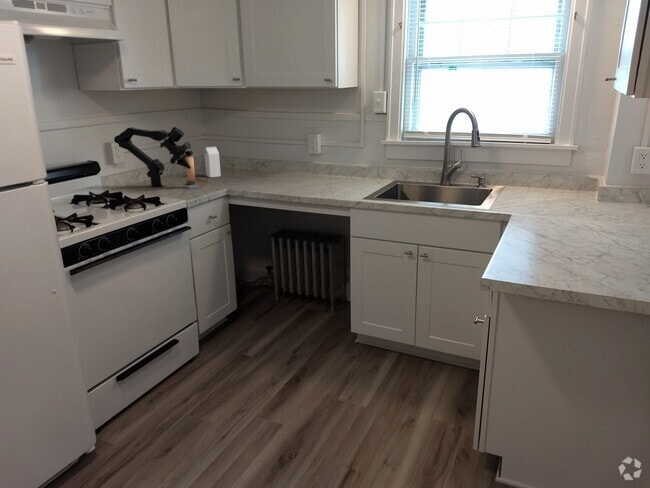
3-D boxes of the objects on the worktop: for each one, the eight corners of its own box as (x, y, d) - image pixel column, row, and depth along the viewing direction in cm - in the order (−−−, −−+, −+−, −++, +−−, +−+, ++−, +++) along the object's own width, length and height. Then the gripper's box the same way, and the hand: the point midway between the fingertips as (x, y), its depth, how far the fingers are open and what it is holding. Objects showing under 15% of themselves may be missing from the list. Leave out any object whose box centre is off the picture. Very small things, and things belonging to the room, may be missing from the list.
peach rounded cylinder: (187, 179, 289) (185, 156, 285) (195, 178, 290) (193, 156, 286) (187, 180, 285) (185, 157, 281) (195, 180, 286) (193, 157, 282)
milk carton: (220, 176, 323) (218, 147, 318) (210, 177, 319) (207, 147, 314) (216, 175, 329) (214, 146, 323) (206, 176, 325) (203, 146, 319)
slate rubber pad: (183, 187, 289) (183, 186, 289) (194, 185, 294) (194, 184, 293) (190, 189, 284) (189, 187, 284) (200, 187, 289) (200, 186, 289)
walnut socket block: (187, 183, 300) (186, 179, 299) (200, 181, 306) (199, 177, 305) (195, 185, 294) (194, 181, 293) (208, 183, 300) (207, 179, 299)
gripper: (173, 139, 272) (193, 160, 273) (188, 136, 290) (207, 155, 291) (161, 153, 276) (181, 174, 277) (177, 149, 294) (196, 168, 295)
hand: (192, 167), depth 285 cm, fingers closed on peach rounded cylinder, 4 cm apart
